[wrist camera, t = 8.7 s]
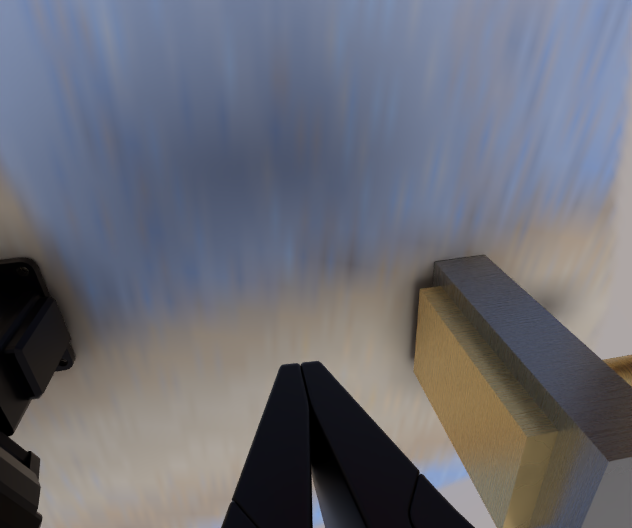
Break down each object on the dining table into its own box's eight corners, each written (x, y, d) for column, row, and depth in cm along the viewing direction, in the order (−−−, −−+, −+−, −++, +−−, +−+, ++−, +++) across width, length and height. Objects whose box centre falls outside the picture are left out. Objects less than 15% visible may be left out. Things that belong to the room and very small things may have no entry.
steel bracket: (424, 369, 28) (552, 595, 17) (434, 261, 24) (609, 461, 13) (468, 362, 29) (621, 578, 17) (484, 255, 25) (695, 443, 14)
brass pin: (413, 371, 27) (500, 535, 18) (419, 288, 24) (527, 437, 15) (562, 346, 28) (709, 489, 19) (585, 265, 25) (771, 390, 17)
